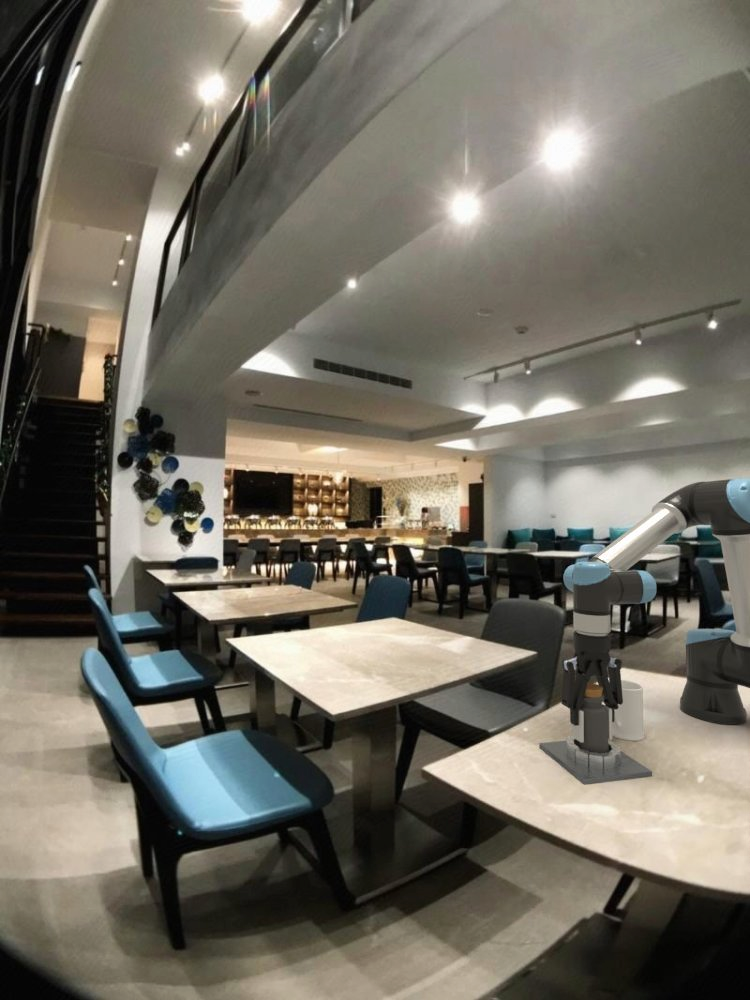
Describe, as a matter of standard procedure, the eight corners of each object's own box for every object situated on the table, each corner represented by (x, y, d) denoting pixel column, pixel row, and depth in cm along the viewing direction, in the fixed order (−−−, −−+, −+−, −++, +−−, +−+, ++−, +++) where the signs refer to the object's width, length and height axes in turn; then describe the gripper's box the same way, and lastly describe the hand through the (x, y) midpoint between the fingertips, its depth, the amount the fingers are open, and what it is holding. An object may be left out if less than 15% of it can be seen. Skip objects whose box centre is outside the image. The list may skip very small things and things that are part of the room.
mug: (630, 748, 111) (629, 696, 111) (593, 735, 117) (593, 686, 118) (650, 734, 119) (649, 685, 119) (614, 723, 125) (614, 676, 126)
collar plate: (599, 741, 114) (599, 726, 114) (652, 776, 99) (651, 758, 99) (539, 747, 111) (539, 732, 111) (584, 784, 95) (584, 766, 95)
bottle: (607, 765, 101) (603, 692, 101) (577, 758, 104) (574, 688, 105) (610, 753, 106) (607, 684, 106) (582, 747, 109) (579, 680, 109)
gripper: (617, 627, 112) (618, 727, 111) (543, 629, 108) (543, 734, 106) (641, 634, 105) (643, 742, 103) (563, 637, 100) (563, 750, 99)
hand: (592, 738), depth 105 cm, fingers open, 6 cm apart
